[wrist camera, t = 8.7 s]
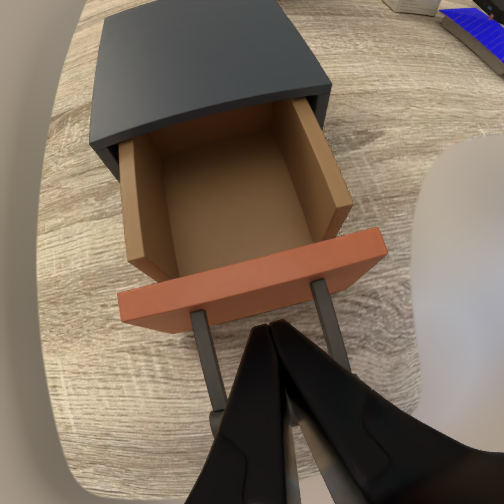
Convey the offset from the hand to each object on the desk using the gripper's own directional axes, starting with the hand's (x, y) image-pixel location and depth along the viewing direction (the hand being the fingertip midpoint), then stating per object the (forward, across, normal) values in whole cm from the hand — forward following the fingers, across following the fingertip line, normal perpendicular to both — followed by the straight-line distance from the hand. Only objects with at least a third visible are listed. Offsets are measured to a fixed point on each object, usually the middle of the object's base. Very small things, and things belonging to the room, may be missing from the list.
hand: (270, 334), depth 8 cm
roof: (+27, -39, -11) cm, 49 cm away
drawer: (+11, 0, +4) cm, 12 cm away
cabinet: (+20, 0, -4) cm, 20 cm away
